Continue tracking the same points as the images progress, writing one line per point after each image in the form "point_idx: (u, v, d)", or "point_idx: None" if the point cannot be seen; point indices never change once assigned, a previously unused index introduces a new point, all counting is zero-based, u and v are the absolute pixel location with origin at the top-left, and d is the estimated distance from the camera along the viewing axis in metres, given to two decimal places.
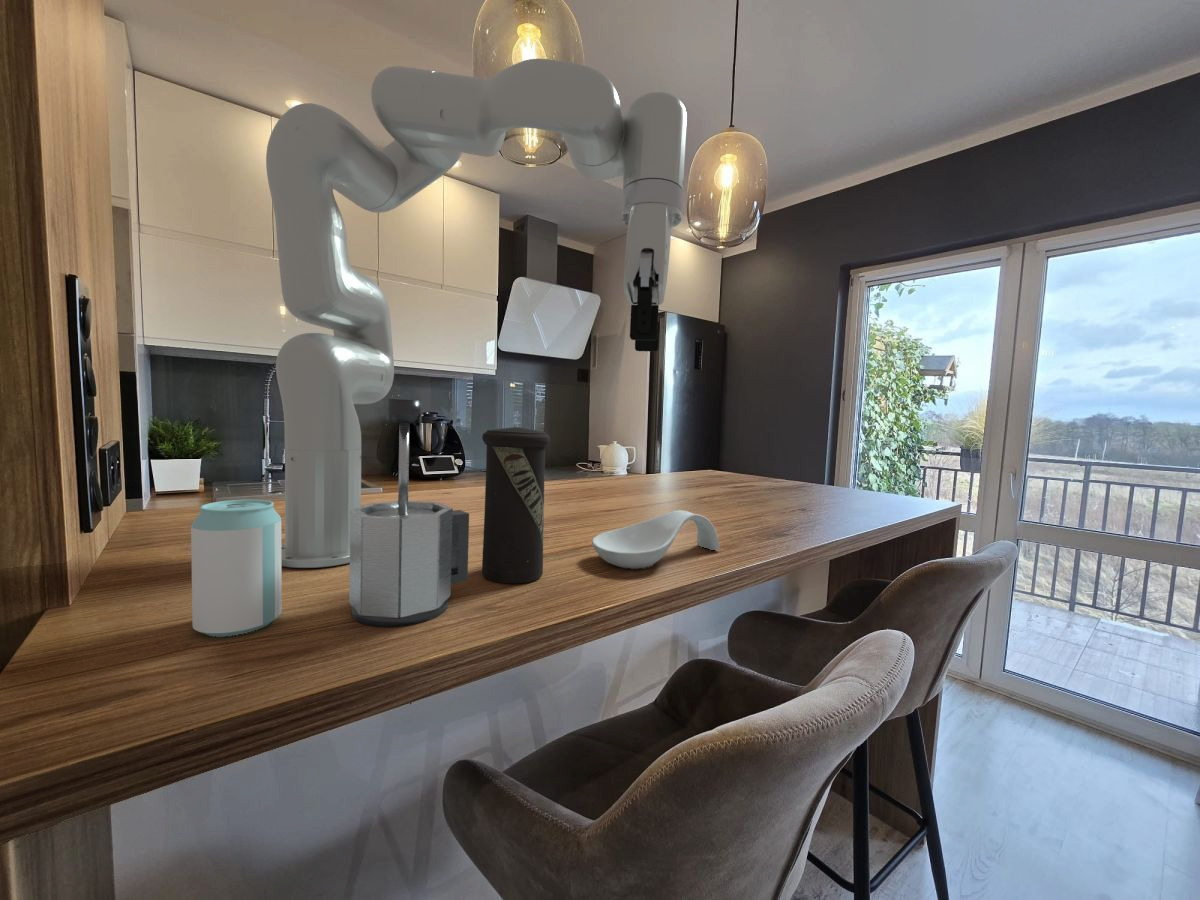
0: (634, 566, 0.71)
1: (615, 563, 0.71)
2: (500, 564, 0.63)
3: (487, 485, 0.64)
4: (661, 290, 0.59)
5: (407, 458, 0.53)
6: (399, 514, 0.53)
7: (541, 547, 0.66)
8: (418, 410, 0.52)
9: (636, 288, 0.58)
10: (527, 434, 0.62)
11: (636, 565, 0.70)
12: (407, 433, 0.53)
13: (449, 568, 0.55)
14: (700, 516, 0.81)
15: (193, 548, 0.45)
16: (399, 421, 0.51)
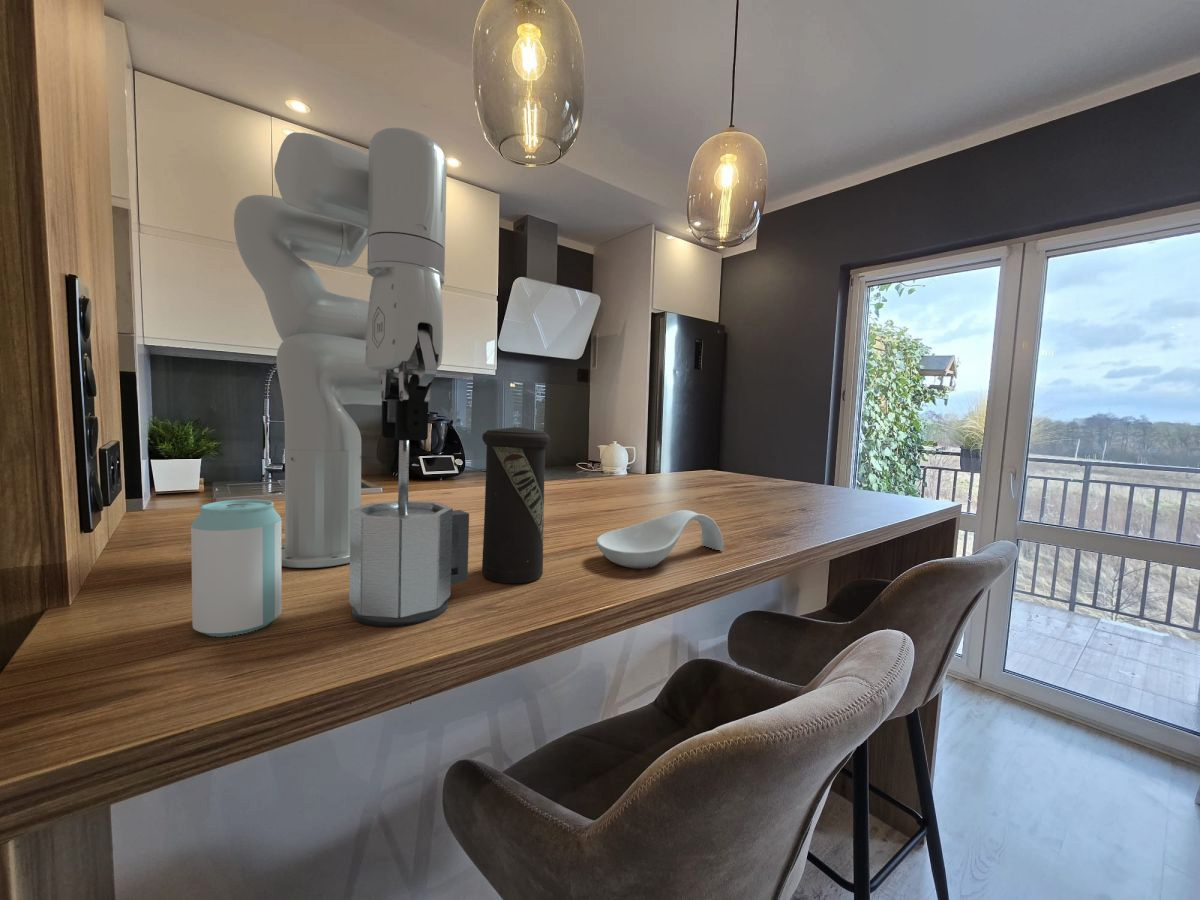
0: (638, 565, 0.71)
1: (619, 562, 0.71)
2: (500, 564, 0.63)
3: (487, 485, 0.64)
4: None
5: (407, 458, 0.53)
6: (399, 514, 0.53)
7: (541, 547, 0.66)
8: None
9: (406, 383, 0.49)
10: (527, 434, 0.62)
11: (640, 564, 0.71)
12: None
13: (449, 568, 0.55)
14: (704, 516, 0.81)
15: (193, 548, 0.45)
16: None
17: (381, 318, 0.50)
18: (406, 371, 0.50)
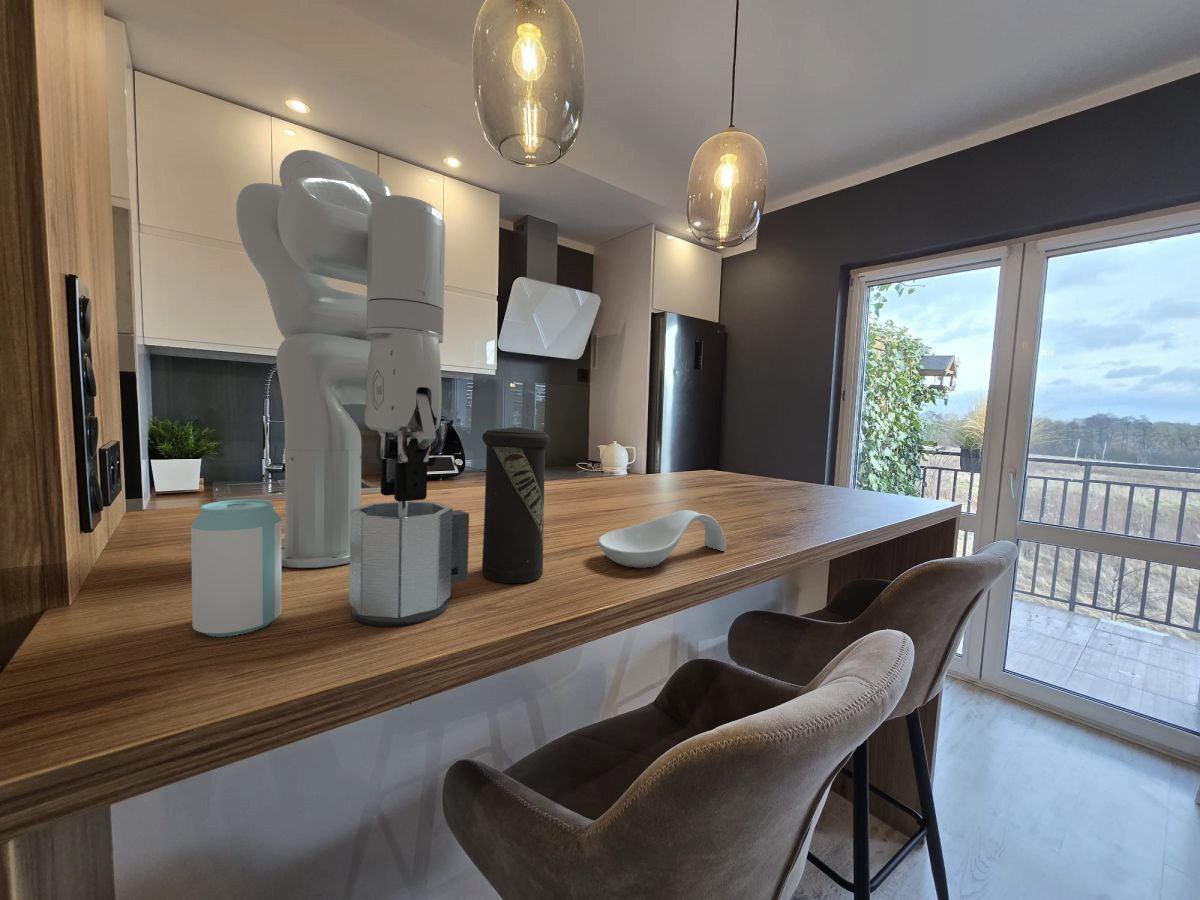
0: (639, 565, 0.71)
1: (620, 562, 0.71)
2: (500, 564, 0.63)
3: (487, 485, 0.64)
4: None
5: (406, 516, 0.53)
6: None
7: (541, 547, 0.66)
8: None
9: (405, 445, 0.50)
10: (527, 434, 0.62)
11: (641, 564, 0.71)
12: None
13: (449, 568, 0.55)
14: (707, 516, 0.81)
15: (193, 548, 0.45)
16: None
17: (380, 381, 0.50)
18: (405, 434, 0.50)
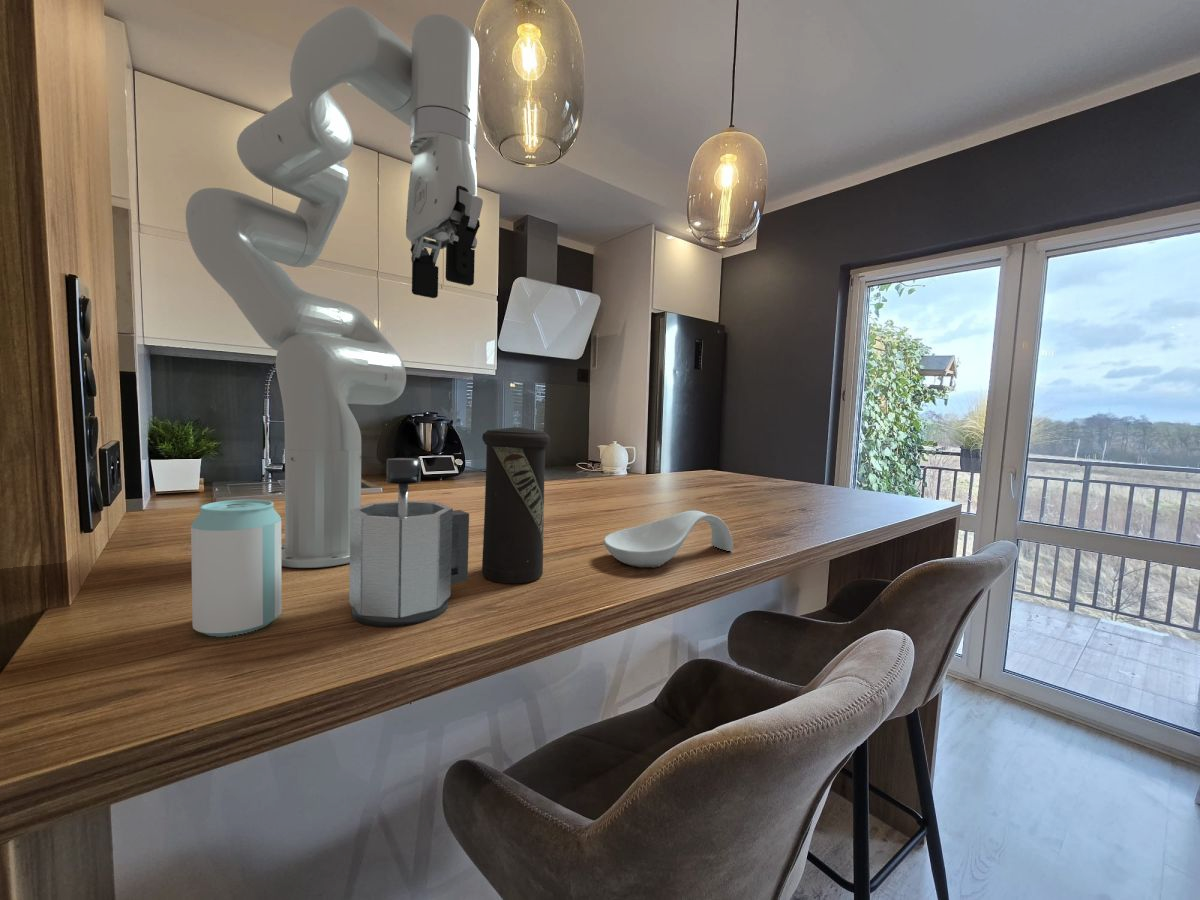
0: (644, 565, 0.71)
1: (625, 561, 0.72)
2: (500, 564, 0.63)
3: (487, 485, 0.64)
4: None
5: None
6: None
7: (541, 547, 0.66)
8: (417, 470, 0.53)
9: (453, 226, 0.54)
10: (527, 434, 0.62)
11: (646, 564, 0.71)
12: (406, 492, 0.53)
13: (449, 568, 0.55)
14: (713, 516, 0.81)
15: (193, 548, 0.45)
16: (398, 482, 0.52)
17: (423, 186, 0.56)
18: (451, 219, 0.55)
